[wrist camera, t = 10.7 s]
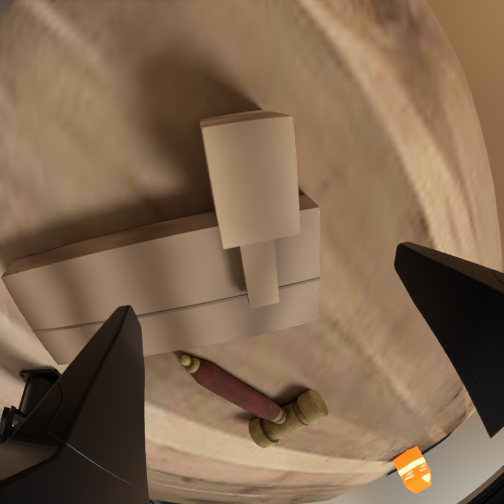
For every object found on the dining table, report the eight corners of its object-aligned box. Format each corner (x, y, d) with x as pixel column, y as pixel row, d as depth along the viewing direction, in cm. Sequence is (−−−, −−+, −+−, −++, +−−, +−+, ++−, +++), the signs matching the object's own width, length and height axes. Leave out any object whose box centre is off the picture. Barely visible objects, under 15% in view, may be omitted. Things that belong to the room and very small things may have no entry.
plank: (64, 345, 23) (58, 365, 21) (13, 260, 18) (0, 277, 16) (308, 301, 26) (318, 320, 23) (305, 194, 20) (319, 207, 18)
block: (227, 277, 23) (240, 332, 18) (198, 119, 17) (201, 128, 11) (277, 266, 23) (302, 317, 18) (261, 109, 17) (292, 115, 12)
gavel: (146, 396, 24) (223, 349, 23) (150, 362, 28) (219, 314, 27) (270, 451, 34) (332, 420, 32) (264, 426, 38) (322, 394, 36)
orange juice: (417, 446, 83) (435, 481, 66) (403, 456, 87) (420, 490, 70) (407, 450, 81) (425, 487, 64) (392, 460, 84) (409, 496, 67)
